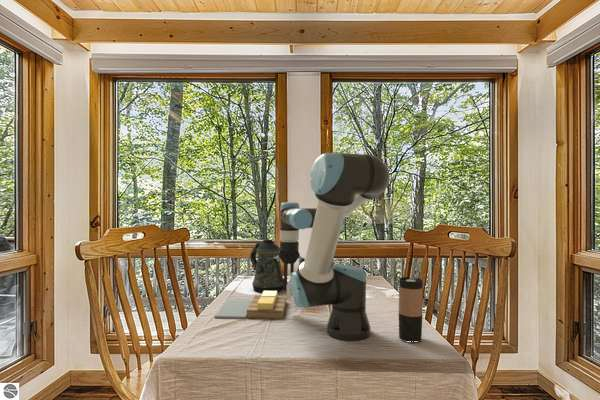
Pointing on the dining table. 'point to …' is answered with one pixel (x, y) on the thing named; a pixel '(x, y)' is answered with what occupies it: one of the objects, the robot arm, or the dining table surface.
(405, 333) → the travel mug
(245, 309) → the slate mat
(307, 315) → the dining table surface
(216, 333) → the dining table surface
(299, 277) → the robot arm
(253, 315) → the walnut deck
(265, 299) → the mustard tile
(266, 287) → the beer stein
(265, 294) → the ivory tile
